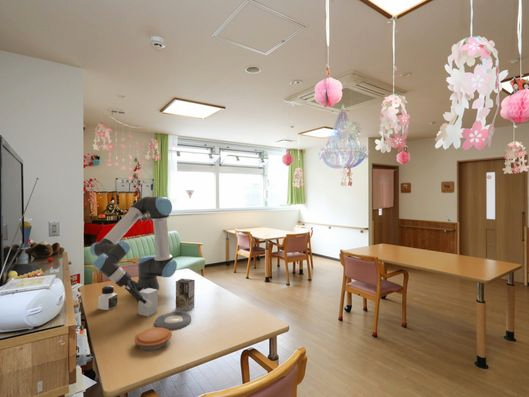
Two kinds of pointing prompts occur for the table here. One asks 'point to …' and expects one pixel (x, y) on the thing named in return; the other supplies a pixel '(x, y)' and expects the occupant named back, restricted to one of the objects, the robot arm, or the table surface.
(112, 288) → the white bottle
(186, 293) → the coffee box
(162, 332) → the pie
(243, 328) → the table surface
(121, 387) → the table surface
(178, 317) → the charcoal plate
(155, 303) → the supplement box
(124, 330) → the table surface
